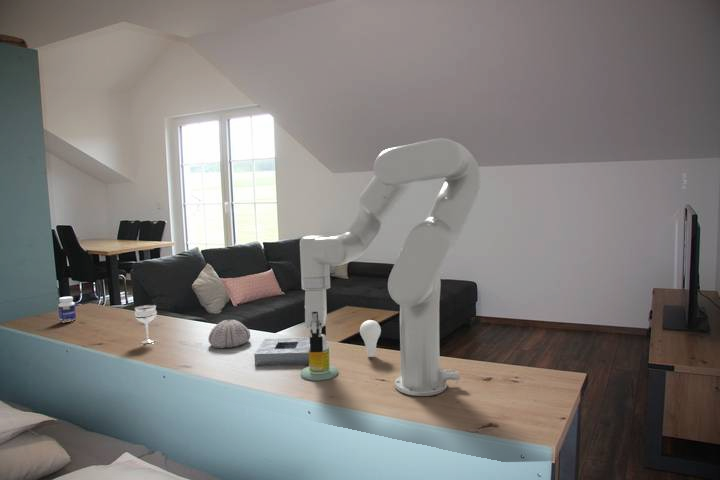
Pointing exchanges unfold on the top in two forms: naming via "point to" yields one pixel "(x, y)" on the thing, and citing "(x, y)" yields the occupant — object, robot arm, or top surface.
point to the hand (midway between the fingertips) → (318, 345)
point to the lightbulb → (370, 335)
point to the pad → (319, 377)
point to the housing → (283, 352)
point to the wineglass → (146, 316)
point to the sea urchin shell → (229, 334)
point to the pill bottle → (66, 309)
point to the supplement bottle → (320, 359)
